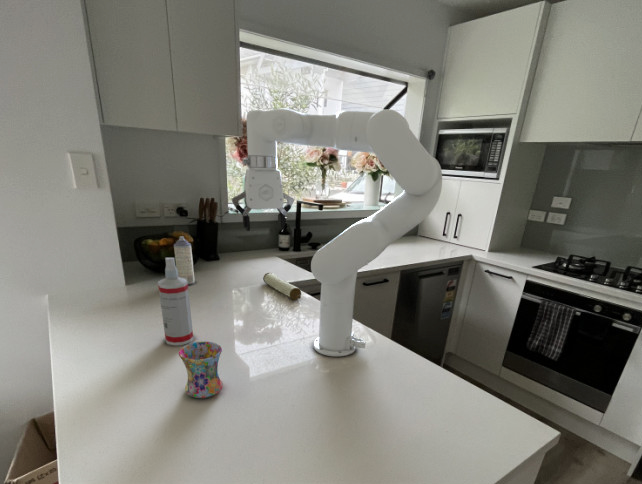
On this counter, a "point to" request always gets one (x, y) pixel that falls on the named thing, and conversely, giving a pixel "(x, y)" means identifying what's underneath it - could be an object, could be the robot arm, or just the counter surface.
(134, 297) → the counter surface
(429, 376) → the counter surface
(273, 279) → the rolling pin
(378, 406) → the counter surface
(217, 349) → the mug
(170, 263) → the spray bottle
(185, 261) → the aerosol can
